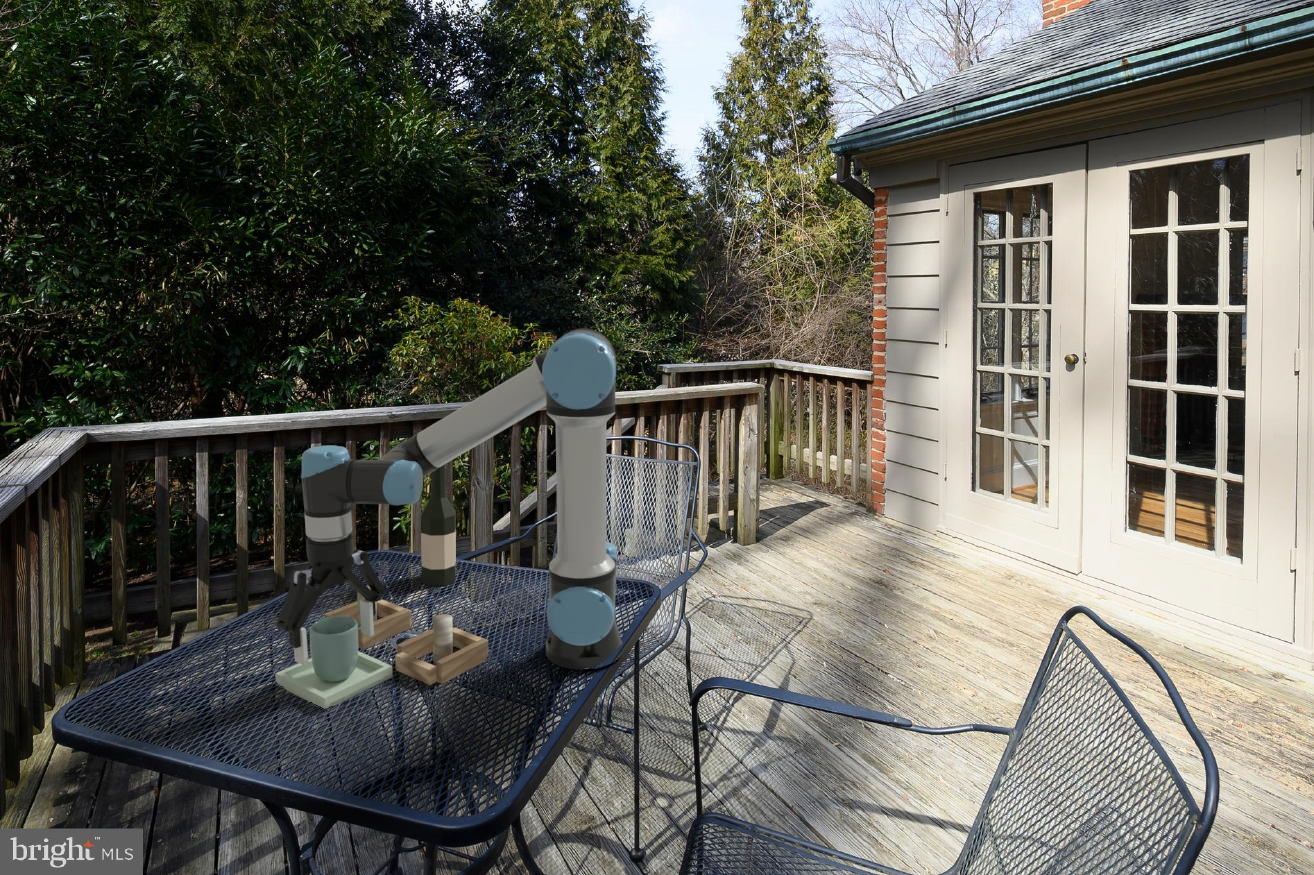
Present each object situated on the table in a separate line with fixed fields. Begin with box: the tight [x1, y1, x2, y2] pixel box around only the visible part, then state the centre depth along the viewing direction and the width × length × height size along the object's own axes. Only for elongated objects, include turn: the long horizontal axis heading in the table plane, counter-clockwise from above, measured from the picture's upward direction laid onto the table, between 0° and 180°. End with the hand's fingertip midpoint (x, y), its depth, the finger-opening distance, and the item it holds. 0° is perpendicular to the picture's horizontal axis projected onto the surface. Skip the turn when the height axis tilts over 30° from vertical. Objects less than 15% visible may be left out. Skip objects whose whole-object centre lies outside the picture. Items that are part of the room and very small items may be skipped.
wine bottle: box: [420, 464, 457, 587], centre depth 188 cm, size 8×8×30 cm
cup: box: [309, 616, 359, 682], centre depth 143 cm, size 8×8×10 cm
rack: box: [323, 585, 489, 686], centre depth 157 cm, size 34×15×9 cm, turn 58°
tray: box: [274, 650, 393, 710], centre depth 144 cm, size 14×14×2 cm
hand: (335, 647), depth 143 cm, fingers open, 13 cm apart
